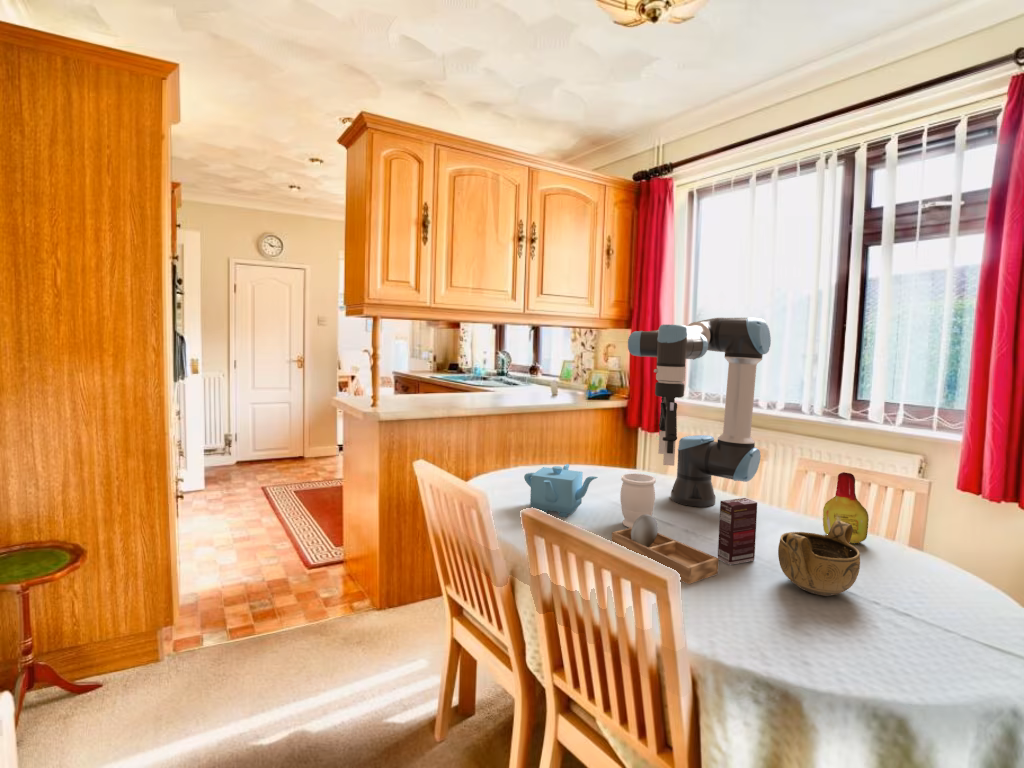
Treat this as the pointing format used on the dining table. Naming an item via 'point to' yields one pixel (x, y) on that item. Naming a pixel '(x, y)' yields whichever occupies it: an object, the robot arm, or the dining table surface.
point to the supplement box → (737, 531)
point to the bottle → (846, 509)
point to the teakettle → (557, 489)
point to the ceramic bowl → (820, 559)
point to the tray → (666, 550)
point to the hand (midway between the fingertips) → (665, 459)
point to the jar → (636, 497)
